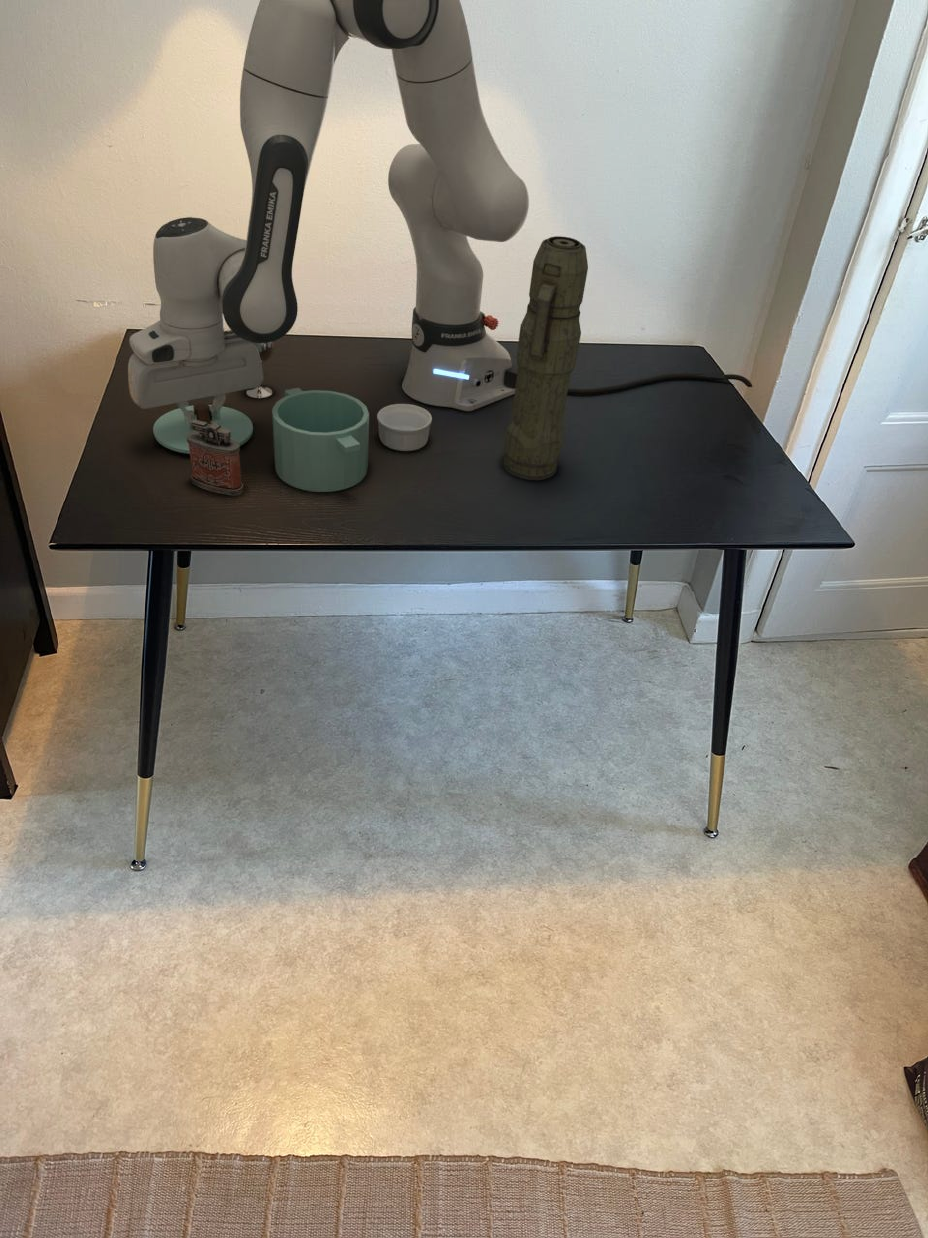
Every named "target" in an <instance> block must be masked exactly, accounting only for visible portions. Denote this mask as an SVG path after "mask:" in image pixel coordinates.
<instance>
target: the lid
mask: <svg viewBox="0 0 928 1238" xmlns="http://www.w3.org/2000/svg"><path fill="white" fill-rule="evenodd" d="M209 406H212V404H207V403H204V402H203V403H200V402H199V403H196V404H194V405H188V407H185V408H186V409H187V411H189V410H193V411H194V413H195V414H196V415H197V420H198V421H202V422H206V423H207V424H211V425H212V424H213V423H218V424H220V426H221V427H222V428H226V429H229V430H230V432H231V437H230V439H231V440H234V441H236V442H238V443H239V444H240V447H241V446H243V445H245V444H246V443H247V442H248V441H249V440H250V439H251V437H252V436H253V433H254V426H253V422H252V420H251V419H250V418H249V417H248V416H247V415H246V414H245V413H243V412H241V411H240V410H237V409H235V408H231V407H227V406H224V405H223V406H222V408H221V410H220V417H221V418H220V419H219V420H214V421H211V418H210V408H209ZM152 432H153V433H152V434H153V437H154V439H155V440H156V441H157V442H158V444H160V445H161V446H163V447H164V448H167V449H169V450H171V451H174V452H177V453H182V454H187V455H188V454H189V455H190V451H189V443H188V442H187V435H188V434H189V433H191V432H195V431H193V430H191V429H190V426H188V425H187V424H186V423H185V420H184V413H183V412H182V411H181V409H180V408H179V407H178V408H175V409H172V410H170V411H168V412H166V413H164V414H162V415H161V416H159V418H157V419H156V421H155V422H154V424H153V427H152Z"/></svg>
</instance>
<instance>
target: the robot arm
mask: <svg viewBox="0 0 928 1238" xmlns="http://www.w3.org/2000/svg"><path fill="white" fill-rule="evenodd" d="M350 38H355V39H358V40H361V41H364V42H366V43H367V42H368V43H369V44H371V45H373V46H374V47H376V48H379V49H383V50H391V57H392V62H393V68H394V72H395V77H396V81H397V86H398V91H399V96H400V101H401V105H402V110H403V115H404V119H405V123H406V126H407V128H408V130H409V132H410V134H411V135H412V137H413V138H414V139H415V140H416V142H418V143H410V144H407V145H405V146H403V147H402V148H400V149H399V150H398V151H397V153H395V155H394V157H393V159H392V161H391V163H390V165H389V169H388V174H387V176H388V178H387V185H388V186H387V187H388V190H389V194H390V196H391V198H392V200H393V201H394V203H395V204H396V205H397V207H398V208H399V211H400V212H401V214H402V215H403V218H404V220H405V223H406V226H407V228H408V232H409V235H410V239H411V243H412V246H413V252H414V256H415V265H416V283H415V284H416V285H415V286H416V289H415V306H414V308H413V309H412V320H411V349H410V356H409V360H408V365H407V368H406V372H405V375H404V378H403V379H402V383H401V388H402V390H403V392H404V393H405V394H406V395H407V396H408V397H410V398H411V399H413V400H415V401H417V402H420V403H422V404H426V405H430V406H435V407H441V408H442V407H443V408H453V409H455V410H456V409H457V410H460V411H464V412H472V411H475V410H477V409H480V408H482V407H485V406H488V405H490V404H492V403H495V402H497V401H500V400H503V399H506V398H508V397H510V396H513V395H515V388H516V381H517V373H518V363H517V362H513V363H512V357H511V355H510V353H509V351H508V350H507V349H506V348H505V347H504V346H502V344H500V343H499V342H498V341H497V340H496V339H495V338H494V337H492V336H491V335H490V334H489V333H488V332H487V330H486V328H488V329H489V330H491V331H494V330H496V329H497V327H498V326H499V320H498V318H495V317H493V315H490V314H488V315H486V314H485V313H484V312H483V311H481V305H482V304H481V303H482V294H483V284H484V270H483V269H484V268H483V266H482V263H481V261H480V259H479V258H478V257H477V255H476V254H475V252H474V250H473V249H472V247H471V245H470V243H469V240H468V237H469V238H471V239H473V240H477V241H483V242H484V241H485V242H496V243H504V242H507V241H510V240H511V239H512V238H514V237H516V235H517V234H518V233H519V232H520V230H521V229H522V228H523V226H524V225H525V222H526V219H527V217H528V213H529V209H530V208H529V207H530V197H529V192H528V188H527V185H526V183H525V181H524V180H523V179H522V178H521V177H520V176H519V175H518V174H517V173H516V172H515V171H514V170H513V169H512V167H511V166H510V164H509V163H508V162H507V160H506V159H505V158H504V157H505V156H504V155H503V154H502V152H501V150H500V149H499V146H498V144H497V143H496V141H495V139H494V136H493V135H492V132H491V130H490V128H489V125H488V123H487V121H486V120H487V119H486V118H485V114H484V112H483V108H482V103H481V99H480V94H479V88H478V87H479V86H478V82H477V76H476V71H475V65H474V58H473V51H472V45H471V38H470V35H469V29H468V24H467V21H466V18H465V14H464V10H463V6H462V3H461V1H460V0H259V2H258V5H257V8H256V11H255V14H254V18H253V21H252V24H251V29H250V32H249V35H248V40H247V44H246V50H245V53H244V60H243V67H242V71H241V80H240V88H239V89H240V90H239V124H240V130H241V131H240V132H241V136H242V139H243V142H244V147H245V150H246V154H247V158H248V162H249V168H250V176H251V186H252V187H251V189H252V193H251V196H252V197H251V203H250V204H251V205H250V212H249V220H248V226H247V233H246V239H245V238H244V239H243V238H240V237H237V236H234V235H232V234H229V233H227V232H224V231H222V230H220V229H219V228H217V227H215V226H214V225H213V224H211V223H210V222H209V221H208V220H206V219H205V218H201V217H192V216H187V217H179V218H176V219H173V220H170V221H168V222H166V223H164V224H163V225H161V226H160V227H159V228H158V230H157V231H156V233H155V235H154V238H153V245H152V252H153V255H152V261H153V262H152V263H153V273H154V281H155V288H156V291H157V293H158V296H159V299H160V309H159V320H158V321H156V322H155V323H152V324H151V325H149V326H147V327H145V328H142V329H141V330H139V331H137V332H135V333H132V334H131V335H130V336H129V340H128V341H129V346H130V347H131V350H132V351H133V353H132V354H131V356H130V357H129V360H128V364H127V376H128V377H127V380H128V390H129V396H130V398H131V400H132V401H133V402H134V404H135V405H136V406H138V407H139V408H141V409H142V410H148V409H153V408H158V407H163V406H168V405H169V406H170V405H173V404H175V405H176V406H177V407H178V408H180V409H181V411H182V412H183V413H184V420H185V423H186V424H187V425H188V426H190V422H191V421H192V420H197V415H196V414H195V413H194V411H193V410H189V411H187V409H186V408H185V407H188V406H189V401H194V400H198V399H204V398H209V397H214V398H213V401H212V403H211V405H212V406H209V408H210V418H211V421H214V420H219V419H220V418H221V417H220V410H221V408H222V406H223V407H224V404H225V402H226V400H227V394H230V393H235V392H240V391H247V389H251V388H256V387H259V386H260V385H261V386H262V384H263V382H264V380H265V378H264V377H265V376H264V370H263V364H262V363H263V362H262V363H261V359H260V355H259V351H260V348H261V345H260V343H269V342H272V341H274V342H275V341H277V340H280V339H282V338H283V337H284V336H286V335H287V334H288V333H289V332H290V331H291V329H293V327H294V325H295V323H296V321H297V317H298V310H299V309H298V308H299V307H298V299H297V295H296V291H295V286H294V282H293V264H294V257H295V250H296V246H297V245H296V244H297V239H298V238H297V237H298V231H299V227H300V219H301V213H302V206H303V202H304V201H303V199H304V194H305V189H306V185H307V181H308V177H309V174H310V169H311V166H312V162H313V158H314V154H315V152H316V148H317V144H318V140H319V137H320V134H321V131H322V126H323V123H324V118H325V115H326V110H327V107H328V102H329V97H330V92H331V86H332V80H333V73H334V67H335V64H336V61H337V59H338V56H339V53H340V52H341V50H342V48H343V47H344V45H345V44H346V43H347V42H348V41H349V39H350ZM224 321H225V323H226V325H227V327H228V328H229V330H225V327H224ZM698 375H699V376H698ZM700 375H705V373H704V374H701V373H668V374H661V375H655V376H651V377H645V378H640V379H637V380H632V381H629V382H624V383H621V384H616V385H610V386H603V387H596V388H572V387H571V388H570V387H568V392H567V395H568V394H569V395H597V394H605V393H610V392H611V393H612V392H616V391H617V392H618V391H623V390H626V389H630V388H633V387H637V386H641V385H646V384H647V385H648V384H651V383H656V382H662V381H666V380H683V379H684V380H686V379H687V380H702V381H703V380H705V381H725V380H726V381H727V380H732V381H733V380H735V381H739V382H741V383H743V384H744V386H746V387H748V388H753V384H752V382H751V381H750V379H748V378H747V377H745V376H742V375H739V374H734V373H733V374H731V373H729V374H728V373H727V374H716V375H717V376H719V375H721V376H722V375H724V376H725V377H726V378H727V379H723V378H716V377H706V376H700Z"/></svg>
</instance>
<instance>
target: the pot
mask: <svg viewBox="0 0 928 1238" xmlns="http://www.w3.org/2000/svg"><path fill="white" fill-rule="evenodd" d="M271 418H272V437H273V438H272V439H273V441H272V442H273V456H274V457H273V458H274V467H275V473H276V475H277V477H278V478H279V479H280V480H281V481H282V482H284V483H285V484H287V485H289V486H291V487H293V488H295V489H299V490H302V491H307V492H316V493H330V492H338V491H343V490H346V489H349V488H351V487H355V485H357V484H359V483H360V482H361V481H362V480H363V479H364V478H365V477H366V476H367V473H368V468H369V440H370V439H369V438H370V437H369V436H370V435H369V433H370V412H369V410H368V407H367V405H366V404H364V403H363V402H362V401H361V400H360V399H358V398H356V397H354V396H352V395H349V394H347V393H342V392H339V391H335V390H334V391H333V390H321V389H320V390H319V389H312V390H302V389H301V388H300V387H295V388H289V389H285V390H284V396H283V397H282V398H280V399H279V400H277V401H276V402H275V404H274V406H273V407H272V409H271Z"/></svg>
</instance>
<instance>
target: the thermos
mask: <svg viewBox="0 0 928 1238" xmlns="http://www.w3.org/2000/svg"><path fill="white" fill-rule="evenodd" d="M588 271H589V265H588V256H587V248H586V245H584V244H583V243H582V242H581V241H579V240H578V239H575V238H572V237H568V236H561V235H559V236H557V235H556V236H550V237H548V238H545V239H543V240H542V241H541V243H540V246H539V248H538V250H537V252H536V254H535V257H534V259H533V262H532V268H531V276H530V277H531V278H530V283H529V284H530V285H529V290H528V291H529V293H528V297H529V301H528V304H527V307H526V313H525V315H524V317H523V319H522V321H521V323H520V326H519V335H518V340H517V341H518V342H517V350H516V356H515V358H516V363H517V364H518V373H517V381H516V388H515V394H514V396H513V404H512V405H513V406H512V410H511V411H512V412H511V419H510V424H509V426H508V428H507V429H506V430H505V436H504V437H505V438H504V445H503V450H504V456H503V460H502V465H503V468H504V469H505V471H506V472H507V473H509V474H510V475H511V476H513V477H517V478H519V479H523V480H527V481H543V480H546V479H550V478H551V477H553V476H554V475H555V474H556V472H557V468H558V461H559V458H560V457H561V452H562V446H563V440H564V439H563V438H564V429H563V420H564V414H565V409H566V402H567V397H568V394H567V392H568V388H569V385H570V380H571V374H572V372H573V371H574V369H575V367H576V365H577V357H578V353H579V347H580V341H581V336H582V330H581V322H580V316H581V310H580V308H581V305H582V303H583V299H584V293H585V288H586V281H587V276H588Z"/></svg>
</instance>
